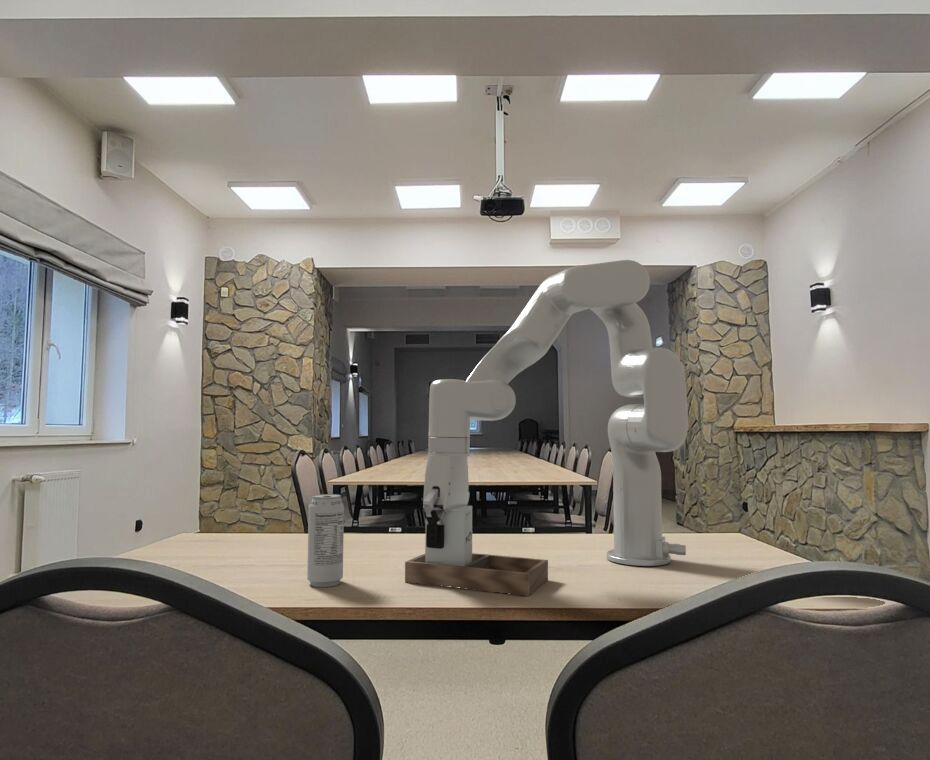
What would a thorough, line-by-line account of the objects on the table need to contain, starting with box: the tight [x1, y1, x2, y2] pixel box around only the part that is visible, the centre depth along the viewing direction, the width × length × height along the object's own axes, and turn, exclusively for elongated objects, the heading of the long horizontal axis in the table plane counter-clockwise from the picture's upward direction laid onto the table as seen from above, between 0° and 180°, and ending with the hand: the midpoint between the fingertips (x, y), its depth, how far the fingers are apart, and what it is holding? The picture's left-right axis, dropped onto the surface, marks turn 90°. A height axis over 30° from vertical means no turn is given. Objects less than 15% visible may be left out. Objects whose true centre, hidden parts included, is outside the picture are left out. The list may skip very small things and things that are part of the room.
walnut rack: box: [404, 552, 549, 597], centre depth 109 cm, size 22×12×4 cm, turn 66°
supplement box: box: [424, 505, 473, 566], centre depth 112 cm, size 7×7×13 cm
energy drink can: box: [306, 493, 345, 588], centre depth 108 cm, size 6×6×15 cm
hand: (447, 543), depth 112 cm, fingers open, 9 cm apart
